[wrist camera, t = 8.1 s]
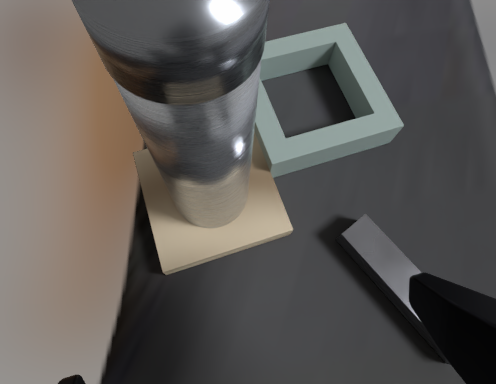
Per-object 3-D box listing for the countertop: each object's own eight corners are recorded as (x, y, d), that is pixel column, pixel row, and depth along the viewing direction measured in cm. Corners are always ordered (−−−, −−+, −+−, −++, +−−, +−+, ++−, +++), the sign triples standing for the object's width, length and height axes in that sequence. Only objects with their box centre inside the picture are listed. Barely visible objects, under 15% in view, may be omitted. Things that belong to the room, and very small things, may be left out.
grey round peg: (263, 204, 19) (314, -15, 7) (196, 243, 18) (116, 72, 6) (224, 146, 20) (208, -129, 8) (159, 181, 19) (29, -71, 7)
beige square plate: (290, 234, 19) (293, 229, 18) (166, 275, 18) (162, 272, 17) (249, 129, 22) (250, 120, 21) (137, 160, 21) (132, 152, 20)
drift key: (469, 339, 18) (485, 339, 17) (446, 363, 17) (461, 366, 16) (357, 220, 20) (365, 213, 19) (335, 239, 19) (341, 234, 18)
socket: (389, 142, 22) (403, 125, 20) (268, 179, 20) (272, 164, 19) (337, 46, 24) (345, 22, 22) (227, 73, 23) (226, 51, 21)
